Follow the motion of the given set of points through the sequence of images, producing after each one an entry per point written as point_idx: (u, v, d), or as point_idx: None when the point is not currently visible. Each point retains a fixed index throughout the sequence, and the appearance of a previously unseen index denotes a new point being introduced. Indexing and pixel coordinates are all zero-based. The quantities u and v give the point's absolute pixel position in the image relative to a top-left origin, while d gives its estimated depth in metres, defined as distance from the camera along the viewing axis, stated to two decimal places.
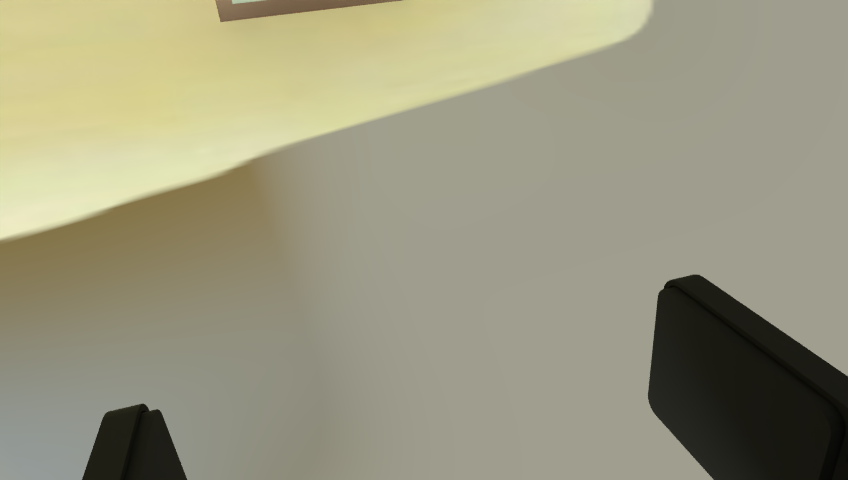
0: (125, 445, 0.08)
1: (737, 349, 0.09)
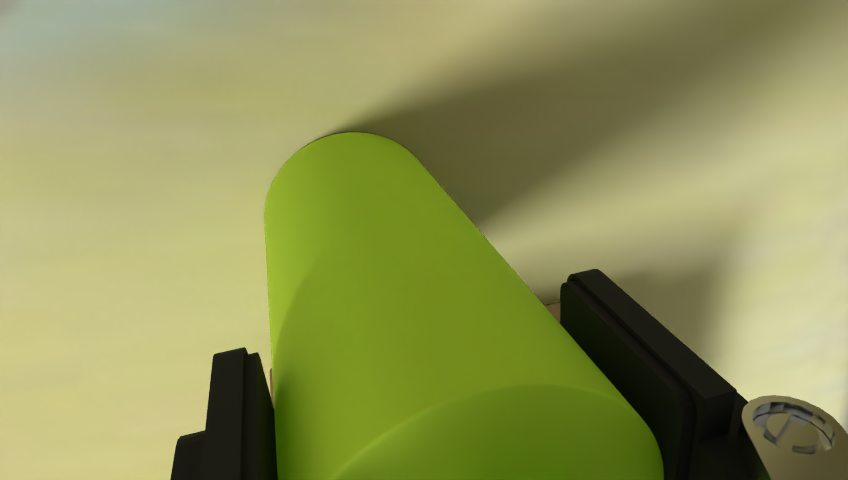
0: (238, 379, 0.09)
1: (617, 338, 0.10)
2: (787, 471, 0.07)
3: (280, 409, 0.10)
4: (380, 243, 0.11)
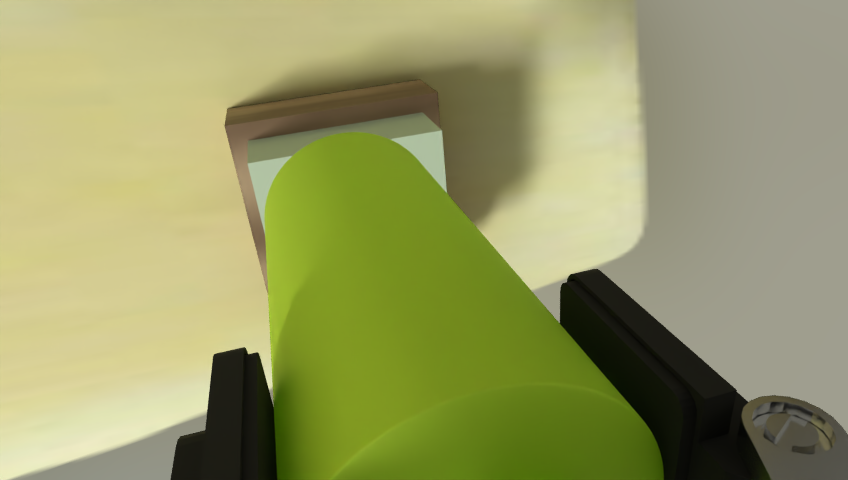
0: (238, 379, 0.09)
1: (617, 339, 0.10)
2: (787, 471, 0.07)
3: (280, 409, 0.10)
4: (381, 244, 0.11)
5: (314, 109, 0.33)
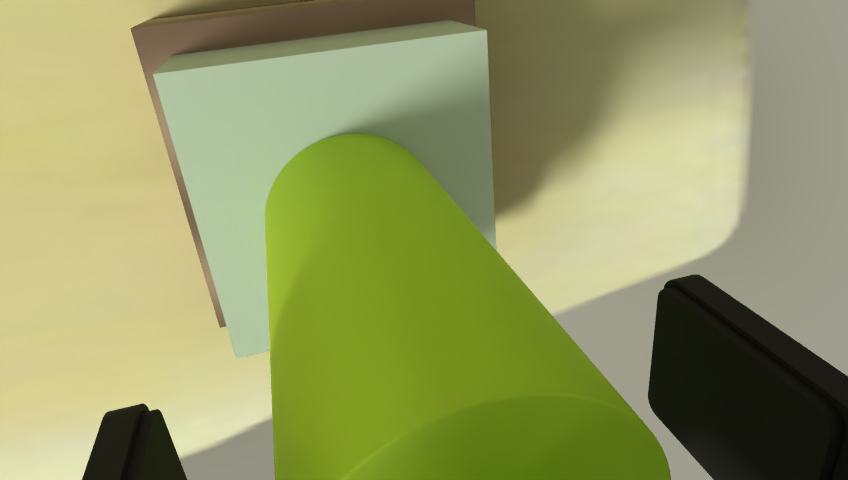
0: (125, 445, 0.08)
1: (737, 349, 0.09)
2: None
3: (278, 417, 0.10)
4: (381, 247, 0.11)
5: (279, 10, 0.21)
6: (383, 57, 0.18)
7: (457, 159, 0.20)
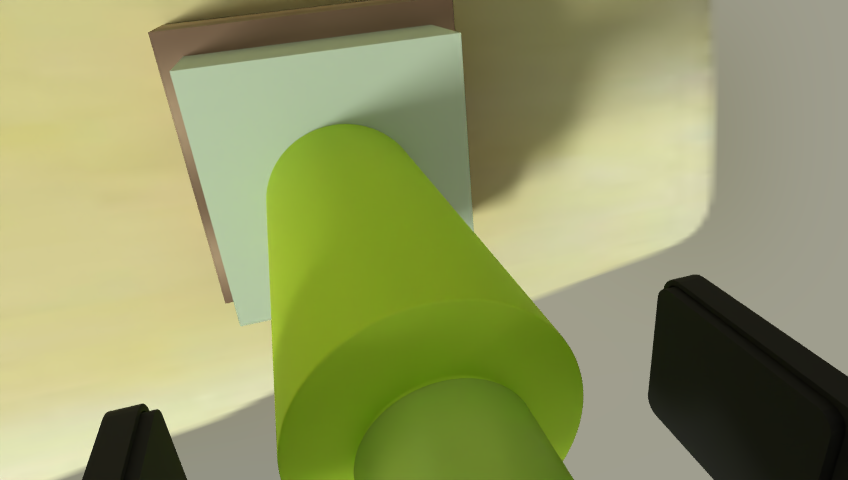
0: (125, 445, 0.08)
1: (737, 349, 0.09)
2: None
3: (277, 337, 0.12)
4: (361, 208, 0.14)
5: (279, 16, 0.23)
6: (370, 57, 0.20)
7: (436, 147, 0.22)
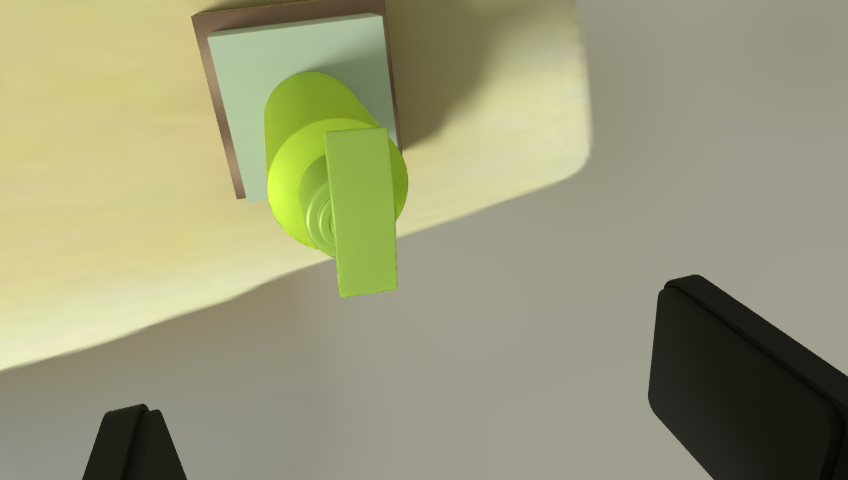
0: (125, 445, 0.08)
1: (737, 349, 0.09)
2: None
3: (267, 153, 0.26)
4: (310, 98, 0.27)
5: (272, 6, 0.37)
6: (326, 30, 0.34)
7: (370, 88, 0.36)
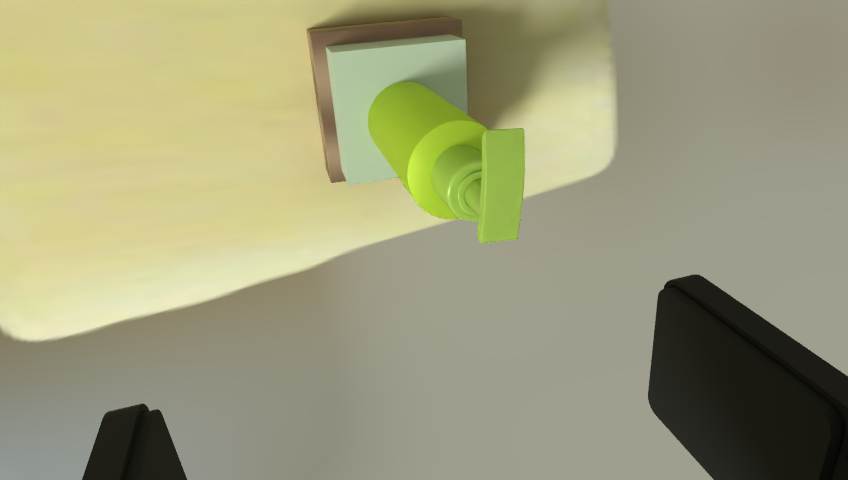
0: (125, 445, 0.08)
1: (737, 349, 0.09)
2: None
3: (399, 144, 0.35)
4: (427, 104, 0.36)
5: (373, 27, 0.46)
6: (422, 49, 0.43)
7: (451, 95, 0.45)
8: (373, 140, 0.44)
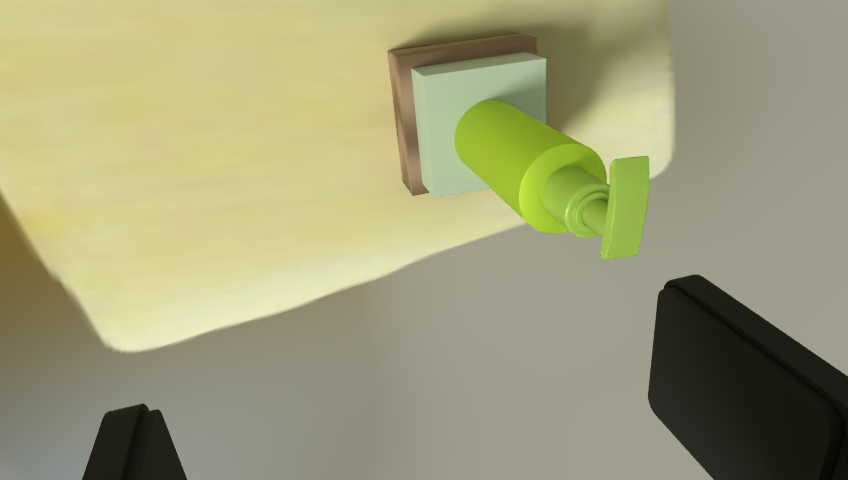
0: (125, 445, 0.08)
1: (737, 349, 0.09)
2: None
3: (505, 165, 0.37)
4: (527, 126, 0.38)
5: (453, 48, 0.48)
6: (506, 69, 0.45)
7: (531, 111, 0.47)
8: (460, 156, 0.46)
